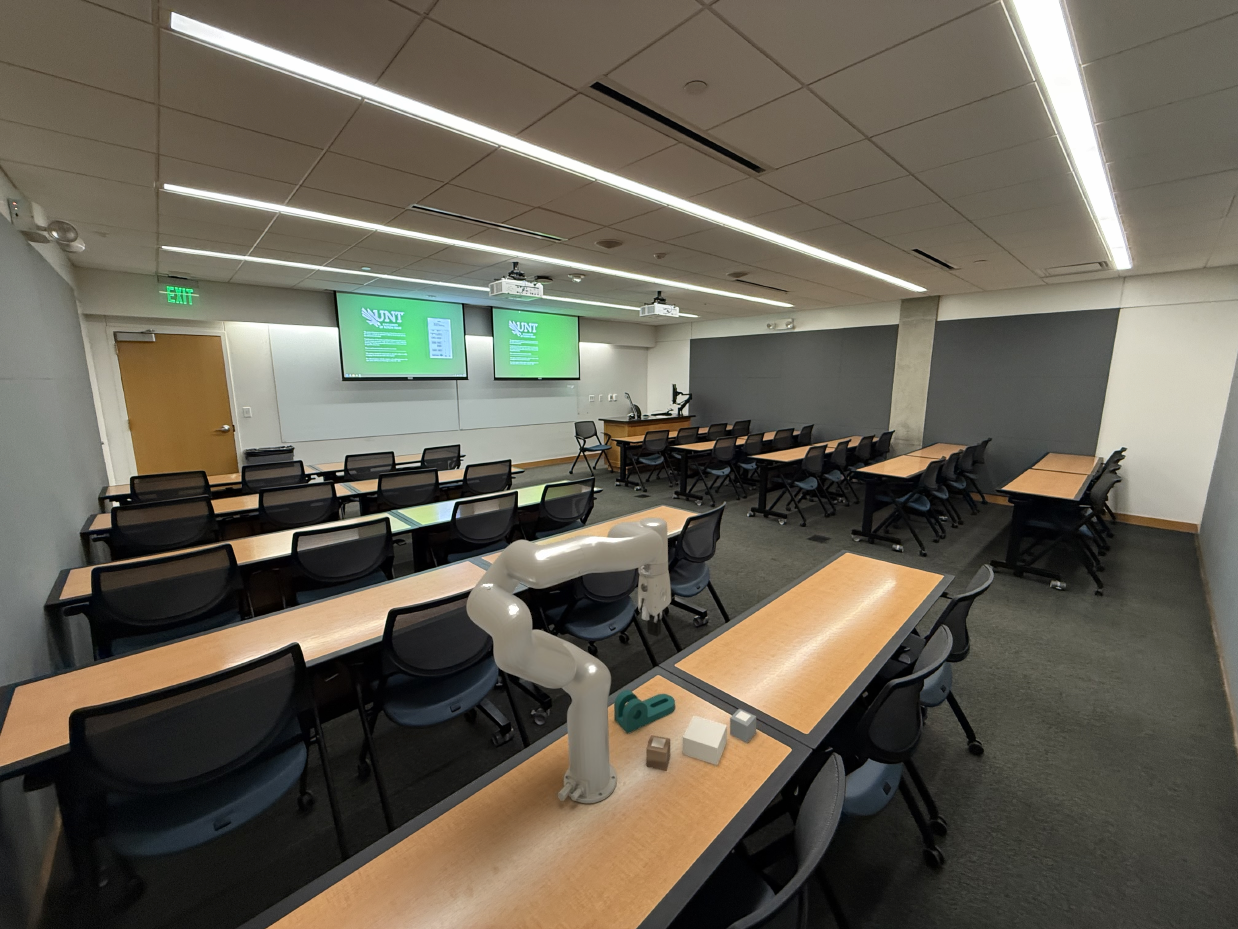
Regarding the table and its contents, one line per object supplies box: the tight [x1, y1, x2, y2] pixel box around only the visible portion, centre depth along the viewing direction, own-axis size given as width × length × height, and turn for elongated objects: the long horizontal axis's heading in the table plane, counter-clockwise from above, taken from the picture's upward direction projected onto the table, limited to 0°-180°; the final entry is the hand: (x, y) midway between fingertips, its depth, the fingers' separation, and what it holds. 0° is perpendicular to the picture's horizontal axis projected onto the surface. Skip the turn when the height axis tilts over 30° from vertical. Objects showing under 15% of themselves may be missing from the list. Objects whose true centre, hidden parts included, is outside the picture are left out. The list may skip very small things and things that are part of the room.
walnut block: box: [645, 734, 672, 772], centre depth 119 cm, size 5×5×5 cm
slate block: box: [729, 708, 757, 744], centre depth 128 cm, size 5×5×5 cm
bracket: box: [613, 689, 676, 735], centre depth 136 cm, size 18×7×8 cm, turn 121°
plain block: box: [682, 715, 728, 766], centre depth 123 cm, size 9×9×5 cm
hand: (654, 633), depth 124 cm, fingers closed
